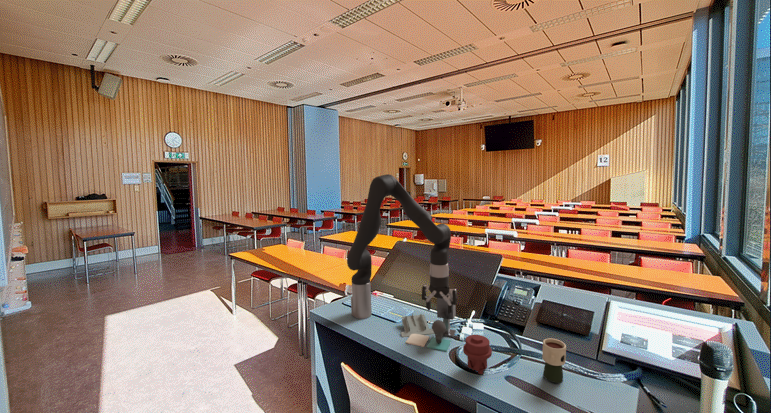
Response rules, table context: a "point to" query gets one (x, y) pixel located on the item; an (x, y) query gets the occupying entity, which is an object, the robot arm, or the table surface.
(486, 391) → the table surface
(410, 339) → the cream pad
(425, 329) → the metal bracket
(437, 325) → the light bulb
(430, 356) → the table surface
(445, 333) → the control housing
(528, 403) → the table surface
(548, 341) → the character mug
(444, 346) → the teal pad
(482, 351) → the mechanical component
